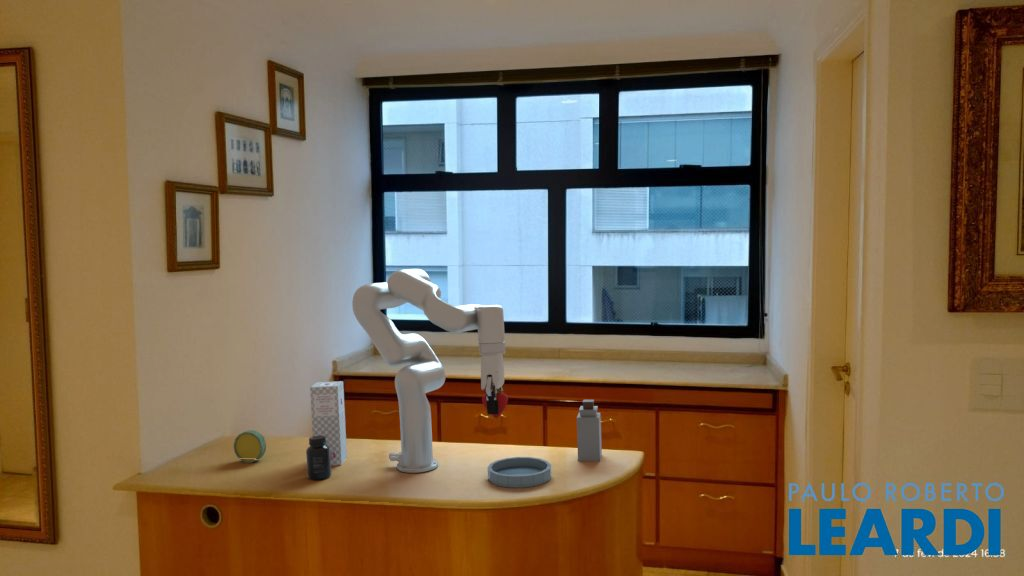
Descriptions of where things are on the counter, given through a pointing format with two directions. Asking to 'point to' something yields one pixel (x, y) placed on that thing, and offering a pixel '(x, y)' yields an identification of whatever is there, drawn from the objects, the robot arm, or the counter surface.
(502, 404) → the strawberry
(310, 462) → the supplement bottle
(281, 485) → the counter surface
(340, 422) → the box
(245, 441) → the decorative artifact
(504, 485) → the slate dish
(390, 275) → the robot arm
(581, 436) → the perfume bottle
